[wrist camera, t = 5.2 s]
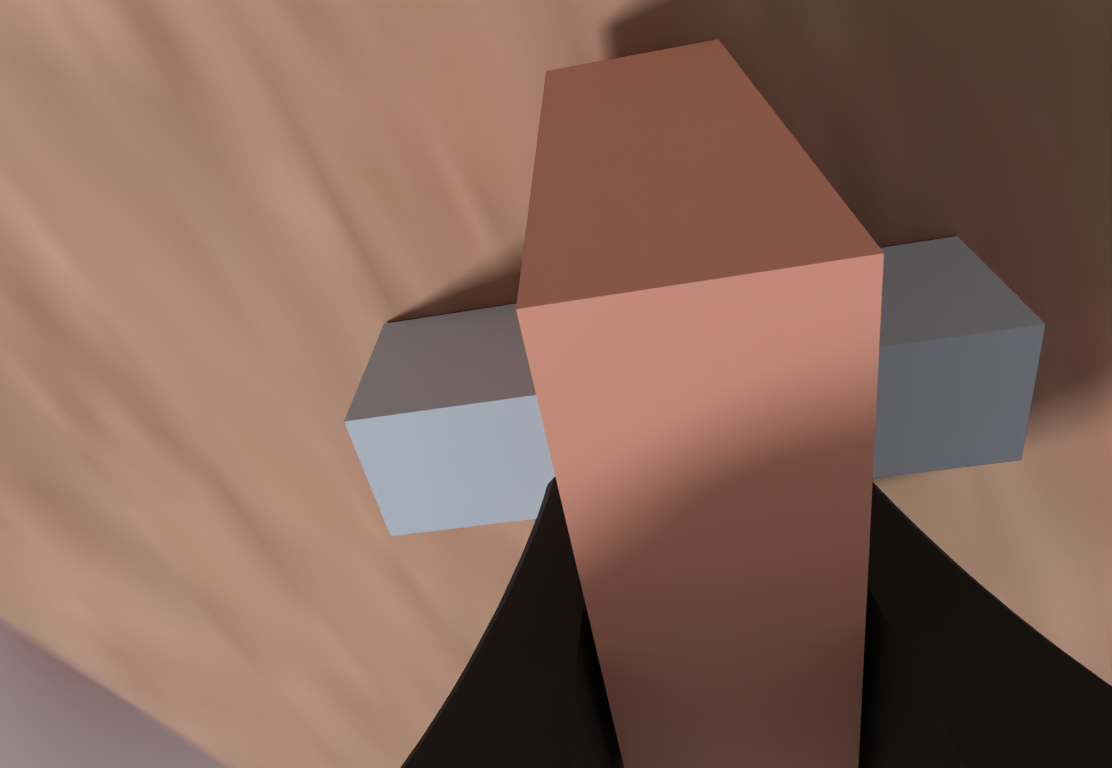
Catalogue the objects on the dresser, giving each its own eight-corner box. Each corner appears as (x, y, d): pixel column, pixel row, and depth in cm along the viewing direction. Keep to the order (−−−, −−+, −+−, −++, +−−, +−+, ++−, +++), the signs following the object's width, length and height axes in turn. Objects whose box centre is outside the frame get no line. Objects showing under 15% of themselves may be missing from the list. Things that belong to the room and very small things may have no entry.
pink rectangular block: (718, 39, 11) (885, 252, 5) (751, 553, 16) (849, 942, 11) (546, 71, 11) (515, 309, 5) (635, 566, 17) (668, 952, 11)
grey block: (957, 236, 13) (1045, 323, 11) (944, 356, 15) (1021, 460, 12) (383, 323, 14) (344, 421, 12) (420, 428, 16) (390, 536, 13)
